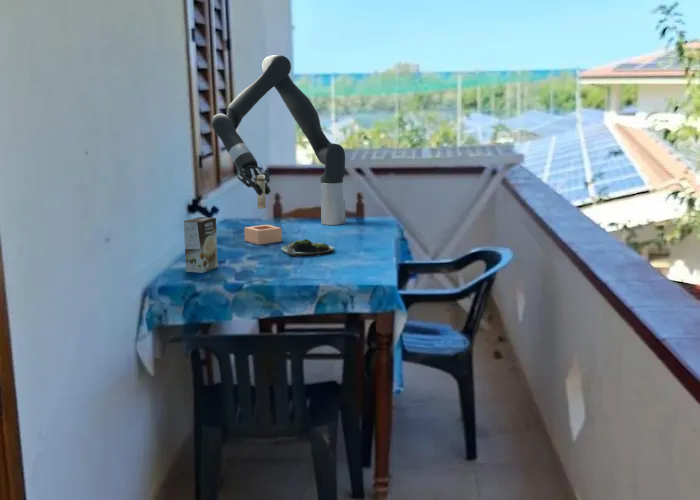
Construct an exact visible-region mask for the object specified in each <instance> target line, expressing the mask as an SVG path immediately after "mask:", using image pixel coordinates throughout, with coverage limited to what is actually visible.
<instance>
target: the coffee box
mask: <svg viewBox="0 0 700 500" xmlns="http://www.w3.org/2000/svg"><path fill="white" fill-rule="evenodd" d="M183 227H184V228H183V234H184V236H183V237H184V254H185V255H184V257H185V272H188V273H199V274H204V273H206V272H209V271H212V270H214V269H217V268H218V267H219V265H218V264H219V262H218V237H217V236H218V234H217V217H209V216H207V217H206V216H202V217H201V216H198V217H194V218H190V219H186V220H184V221H183ZM216 267H217V268H216ZM213 268H214V269H213ZM211 269H212V270H211Z"/></svg>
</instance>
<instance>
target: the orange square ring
mask: <svg viewBox="0 0 700 500" xmlns="http://www.w3.org/2000/svg"><path fill="white" fill-rule="evenodd" d="M244 241H245V242H247V243H251V244H255V245H258V246H259V245H266V244H272V243H278V242H282V241H283V231H282V227H279V226H275V225H271V224H262V225H253V226H246V227H244Z"/></svg>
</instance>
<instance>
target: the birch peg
mask: <svg viewBox="0 0 700 500" xmlns="http://www.w3.org/2000/svg"><path fill="white" fill-rule="evenodd" d="M256 179H257V183H258V184H259V186H260V187H261V189H262V191H263V193H262V195H260V196H259V195H258V194H257V193H256V198H257V200H256V201H257V209H266V208H267V201H266V200H267V198H266V193H265V175H257V178H256Z"/></svg>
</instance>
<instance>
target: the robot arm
mask: <svg viewBox="0 0 700 500" xmlns="http://www.w3.org/2000/svg"><path fill="white" fill-rule="evenodd" d="M291 64H292V63H291V62H290V60H289V58H287V57H286V56H284V55H281V54H273V55H272V54H271V55H267V56H266V57H265V58H264V59H263V61H262V63H261V67H262V72H263V73H262V74H261V75H260V76H259V77H258V78H257V79H256V80H255V81H254V82H253V83H251V84H250V85H249V86H248V87H246V88H244V89H243V90H242V91H241V92H240V93H239V94H238V95H237V96H236V97H235V98H234V99H233V100H232V101H231V102H230V104H229V105H228V108H227V114H224V113H217V114H215V115H213V117H212V118H211V120H210V121H211V127H212V129H213V130H214V132H215V134H216V135H217V136H218V137H219V139H220V140H221V142H222V144H223V146H224V148H225V150H226V152H227V153H228V155H229V156H230V159H231V160H232V162H233V164H234V165H235V167H236V169H237V170H238V172H239V174H238V175H237V179H238V180H239V181H240V182H241V183H243V184H244V186H246V187H247V188H252V189H254V191H255V193H256V195H257V194H258V195H259V196H260V195H262V193H263V191H262V189H261V187H260V186H259V184H258V183H257V179H256V178H257V175H265V196H266V195H270V194H271V187H269V185H268V184H269V183H270V182H271V180H270V174H269V170H268V169H265V170H262V169H261V168H260V167H259V166H258V160H257V159H256V158H255V156H254V155H253V154H252V151H251V150H250V149H249V147H248V146H247V145H246V143H245V142H244V140H243V139H242V137H241V136H240V135H239V133H238V132H237V129H238V127H239V126H240V124H241V122H242V120H243V118H244V117H246V116H247V114H248V113H249V112H250V111H251V110H252V109H253V107H254V106H255V105H256V104H258V102H259V101H260V100H261V99H262V98H263V97H264V96H265V95H266V94H267V93H268V92H269V91H271V90H272V89H273V87H274V88H275V89H276V91H277V92H278V94H279V96H280V97H281V99H282V101H283V102H284V104H285V106H286V108H287V110H288V111H289V112H290V115H291V116H292V118H293V120H294V121H295V123H296V124H297V125H298V127H299V128H300V129H301V132H302V133H303V134H304V136H305V137H306V139H307V140H308V142H309V144H310V145H311V147H312V150H313V152H314V154H315V156H316V158H317V160H318V161H319V162H320V163H321V164H322V165H324V173H323V174H321V176H320V205H321V206H320V208H321V211H320V212H321V214H320V215H321V217H320V218H321V221H320V223H321V225H326V226H327V225H328V226H329V225H330V226H338V225H342V224H346V200H344V177H345V172H346V153H345V150H344V147H343V146H342V145H341V144H339V143H332V142H331V141H330V140H329V139H328V137H327V136H326V135H325V133H324V131H323V128H322V126H321V120H320V116H319V114H318V113H319V112H317V110H316V108H315V106H314V105H313V102H311V100H310V99H309V97H308V96H307V95H306V94H305V93H304V92H303V91H302V90H301V89H300V88H299V87H298V86H297V85H296V84H295V83H294V82H293V80H292V78H291V77H290V72H291V70H292V65H291Z"/></svg>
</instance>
